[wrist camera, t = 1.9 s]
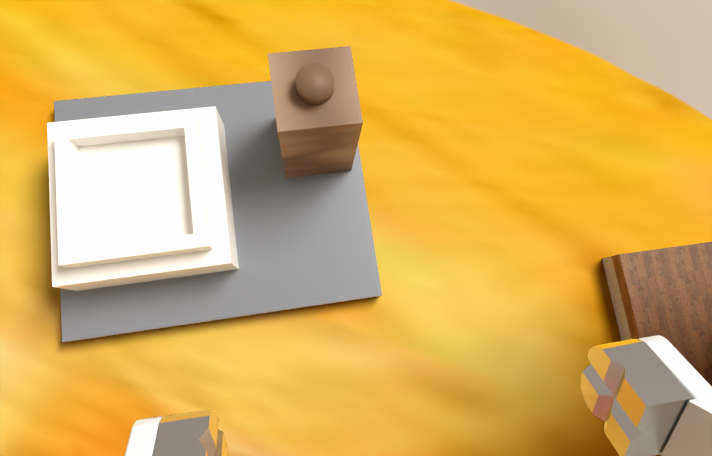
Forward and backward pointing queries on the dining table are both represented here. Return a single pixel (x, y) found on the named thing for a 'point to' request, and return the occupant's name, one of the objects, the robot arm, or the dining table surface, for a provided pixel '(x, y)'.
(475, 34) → the dining table surface
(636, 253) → the two-tier open rack
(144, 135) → the block
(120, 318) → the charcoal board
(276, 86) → the walnut pillar
